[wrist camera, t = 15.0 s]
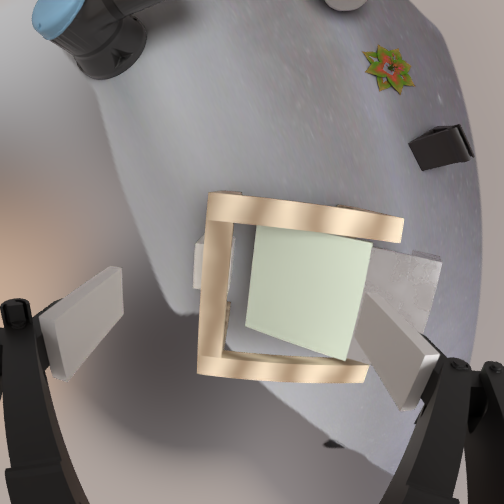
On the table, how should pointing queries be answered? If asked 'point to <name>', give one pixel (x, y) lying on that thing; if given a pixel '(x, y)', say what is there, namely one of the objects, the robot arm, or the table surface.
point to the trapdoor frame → (217, 275)
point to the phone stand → (441, 147)
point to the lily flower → (398, 64)
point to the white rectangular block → (199, 260)
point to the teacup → (345, 4)
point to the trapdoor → (332, 287)
